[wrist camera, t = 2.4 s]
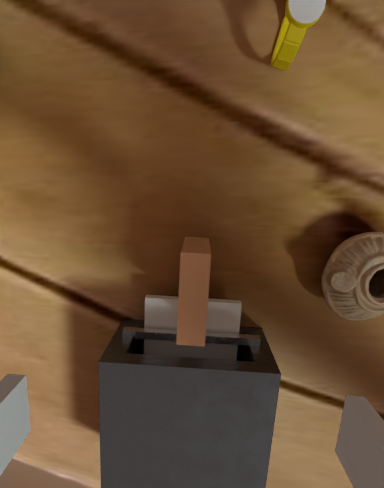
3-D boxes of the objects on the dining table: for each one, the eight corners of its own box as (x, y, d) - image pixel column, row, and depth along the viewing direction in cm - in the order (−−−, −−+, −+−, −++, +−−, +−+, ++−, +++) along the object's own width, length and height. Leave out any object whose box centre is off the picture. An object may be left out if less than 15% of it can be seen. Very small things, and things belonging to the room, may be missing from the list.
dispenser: (262, 321, 32) (282, 365, 24) (246, 455, 36) (259, 531, 28) (123, 312, 32) (98, 353, 25) (122, 446, 36) (101, 518, 29)
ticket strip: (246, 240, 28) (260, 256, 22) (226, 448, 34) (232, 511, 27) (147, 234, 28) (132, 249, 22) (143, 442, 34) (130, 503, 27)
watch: (278, 6, 26) (303, -52, 20) (307, 15, 26) (340, -41, 20) (258, 74, 27) (276, 37, 21) (286, 82, 27) (312, 48, 21)
